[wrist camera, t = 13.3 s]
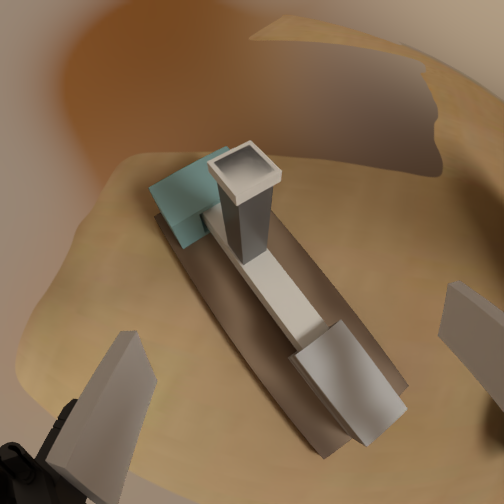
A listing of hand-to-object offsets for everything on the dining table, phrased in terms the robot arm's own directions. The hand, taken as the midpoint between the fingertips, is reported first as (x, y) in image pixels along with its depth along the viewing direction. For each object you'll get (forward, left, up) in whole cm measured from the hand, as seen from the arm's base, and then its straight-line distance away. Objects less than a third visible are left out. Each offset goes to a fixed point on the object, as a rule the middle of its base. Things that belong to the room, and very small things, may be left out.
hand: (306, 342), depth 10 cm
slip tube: (-4, -7, -16) cm, 18 cm away
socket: (-4, -18, -17) cm, 26 cm away
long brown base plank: (-4, -5, -19) cm, 20 cm away
